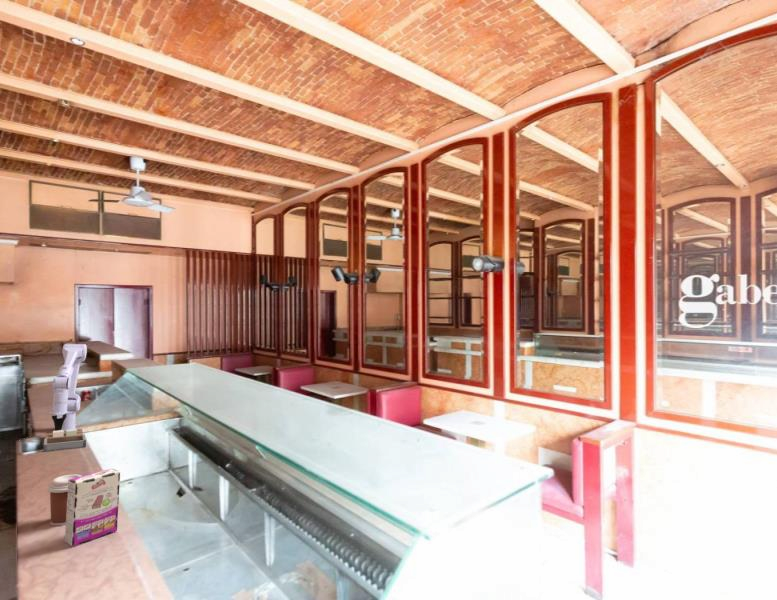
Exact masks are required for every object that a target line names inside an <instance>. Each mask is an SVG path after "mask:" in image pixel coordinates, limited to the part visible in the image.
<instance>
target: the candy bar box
mask: <svg viewBox="0 0 777 600" xmlns="http://www.w3.org/2000/svg"><path fill="white" fill-rule="evenodd" d="M120 481H121V471H120V470H117V469H114V468H109V469H105V470H104V469H103V470H100V471H96V472H92V473H89V474H85V475H81V477H77V478H73V479H69V480H68V496H67V513H66V525H65V530H64V531H65V533H64V534H65V535H64V543H66V544H67V545H68V546H70V547H72V548H74V547H77V546H78V547H79V545H84V544H86V543H88V542H89V543H90V541H94V540H96V539H99V538H102V537H105V536H108V535H109V534H112V533H113V534H114V533H115V532H117V531H118V519H119V497H120V485H121V484H120Z"/></svg>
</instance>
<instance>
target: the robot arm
mask: <svg viewBox="0 0 777 600" xmlns="http://www.w3.org/2000/svg"><path fill="white" fill-rule="evenodd" d="M87 351H88V346H87V345H86V344H85V343H83V344H82V343H78V344H77V343H72V344H71V343H65V344H63V347H62V351H61V352H62V356H63V359H64V362H63V365H61V366H60V367H59V370H58V373H57V375H56V377H55V378H53V380H52V393H53V396H52V397H53V398H52V411H49V412H48V414H49V415H50V414H52V416H51V418H52V421H53V424H54V431H58V430H64V431H66V430H69V429H77V427H76V419H77V418H76V414H77V412H79V411H80V409H81V396H80V395H79V394H77V393H76V390H77V384H78V380H79V379H78V377H79V372H80V367H81V364H82V362H84V361H86V358H87Z"/></svg>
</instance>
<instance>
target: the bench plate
mask: <svg viewBox="0 0 777 600" xmlns="http://www.w3.org/2000/svg"><path fill="white" fill-rule="evenodd" d="M82 435H84V432H83V429H82V428H81V429H78V428H77V435H71V436H66V431H64V436H60V437H53V431H45V438H47V444H49V443H59V442H68V441H78V440H82Z"/></svg>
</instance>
